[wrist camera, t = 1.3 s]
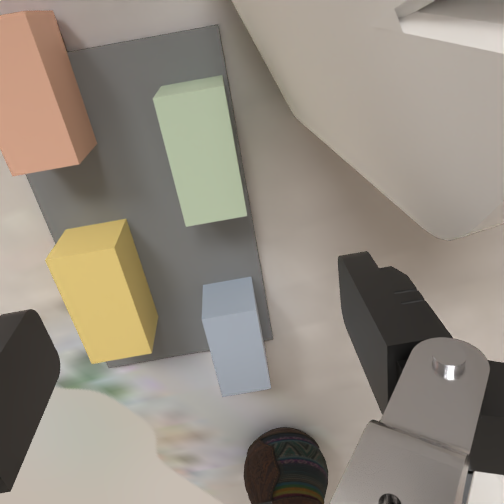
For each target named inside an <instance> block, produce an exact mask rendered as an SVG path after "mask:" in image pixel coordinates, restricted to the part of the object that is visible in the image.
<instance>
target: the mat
mask: <svg viewBox="0 0 504 504" xmlns="http://www.w3.org/2000/svg"><path fill="white" fill-rule="evenodd" d="M67 54H68V57H69V60H70V63H71V66H72V69H73V72H74V75H75V78H76V81H77V84H78V87H79V90H80V93H81V96H82V99H83V102H84V105H85V108H86V111H87V114H88V117H89V120H90V123H91V126H92V129H93V132H94V135H95V138H96V141H97V144H96V146H95V147H94V148H93V149H92V150H91V151H90V153H89V154H88V155H87V156H86V157H85V158H84V160H83V161H82V162H81V163H80V164H79V165H73V166H67V167H62V168H56V169H51V170H45V171H40V172H34V173H28V174H26V176H27V179H28V181H29V183H30V186H31V188H32V190H33V193H34V195H35V197H36V200H37V202H38V204H39V207H40V209H41V211H42V214H43V216H44V218H45V221H46V223H47V225H48V228H49V230H50V232H51V235H52V237H53V239H54V242H55V244H56V243H57V242H58V240H59V239H60V237H61V236H62V234H63V233H64V231H65V230H66V229H71V228H77V227H82V226H88V225H93V224H99V223H105V222H110V221H116V220H121V219H127V222H128V225H129V228H130V232H131V235H132V238H133V241H134V244H135V247H136V250H137V253H138V256H139V259H140V262H141V265H142V268H143V271H144V274H145V277H146V280H147V283H148V286H149V289H150V292H151V295H152V298H153V302H154V305H155V308H156V311H157V314H158V321H157V327H156V333H155V338H154V344H153V350H152V353H151V354H146V355H140V356H134V357H128V358H123V359H117V360H111V361H106V363H107V365H108V368H112V367H117V366H123V365H129V364H135V363H140V362H146V361H152V360H157V359H163V358H169V357H174V356H180V355H186V354H192V353H197V352H203V351H209V350H210V349H209V345H208V341H207V337H206V334H205V330H204V326H203V323H202V296H203V285H206V284H212V283H217V282H223V281H229V280H234V279H240V278H246V277H252V283H253V288H254V293H255V298H256V304H257V309H258V314H259V320H260V325H261V330H262V335H263V341H266V340H271V339H273V336H272V330H271V325H270V319H269V313H268V307H267V302H266V296H265V290H264V285H263V279H262V273H261V268H260V262H259V256H258V250H257V245H256V239H255V233H254V228H253V222H252V216H251V210H250V205H249V199H248V193H247V188H246V182H245V176H244V170H243V165H242V159H241V153H240V148H239V142H238V136H237V130H236V125H235V119H234V113H233V108H232V102H231V96H230V90H229V85H228V79H227V73H226V68H225V62H224V56H223V50H222V45H221V39H220V33H219V28H218V25H214V26H208V27H203V28H197V29H192V30H186V31H181V32H175V33H170V34H164V35H159V36H153V37H148V38H142V39H137V40H131V41H126V42H120V43H115V44H109V45H104V46H98V47H93V48H87V49H82V50H76V51H71V52H67ZM219 75H222V76H223V82H224V87H225V93H226V98H227V104H228V110H229V115H230V121H231V126H232V132H233V137H234V143H235V148H236V154H237V160H238V165H239V171H240V176H241V182H242V187H243V193H244V199H245V205H246V211H247V216H244V217H239V218H233V219H227V220H222V221H216V222H210V223H205V224H199V225H194V226H188V227H186V225H185V222H184V218H183V214H182V210H181V206H180V202H179V198H178V195H177V191H176V187H175V183H174V179H173V175H172V171H171V167H170V164H169V160H168V156H167V152H166V148H165V144H164V140H163V136H162V133H161V129H160V125H159V121H158V117H157V113H156V109H155V105H154V102H153V97H154V96H155V94H156V93H157V92H158V90H159V89H160V87H161V86H164V85H170V84H175V83H181V82H186V81H192V80H197V79H203V78H208V77H214V76H219Z"/></svg>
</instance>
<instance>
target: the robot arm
mask: <svg viewBox="0 0 504 504" xmlns="http://www.w3.org/2000/svg"><path fill="white" fill-rule="evenodd" d="M338 271H339V285H340V298H341V309H342V315H343V319H344V323H345V326H346V329H347V331H348V334H349V336H350V338H351V341H352V343H353V346H354V348H355V350H356V353H357V355H358V357H359V360H360V362H361V365H362V367H363V369H364V372H365V374H366V377H367V379H368V381H369V384H370V386H371V389H372V391H373V393H374V396H375V398H376V401H377V403H378V405H379V408H380V410H381V413H382V415H383V416H382V418H381V420H380V421H379V422H378V421H376V420H371V421H370V422H369V423H368V424H367V426H366V428H365V430H364V431H363V434H362V436H361V438H360V440H359V442H358V444H357V446H356V448H355V450H354V453H353V455H352V457H351V459H350V461H349V463H348V465H347V467H346V470H345V472H344V474H343V476H342V478H341V480H340V482H339V484H338V486H337V489H336V491H335V493H334V495H333V497H332V499H331V501H330V503H329V504H468V501H469V496H470V492H471V487H472V483H473V479H474V474H475V471H476V472H484V473H491V474H498V475H504V363H502V362H495V361H490V360H487V358H486V357H485V355H484V354H483V353H482V352H481V351H480V350H479V349H477V348H476V347H475V346H473V345H471V344H469V343H467V342H464V341H461V340H458V339H453V337H452V336H451V335H450V333H449V332H448V331H447V329H446V328H445V326H444V325H443V324H442V322H441V321H440V320H439V318H438V317H437V315H436V314H435V313H434V311H433V310H432V309H431V307H430V306H429V305H428V303H427V302H426V301H424V298H423V296H422V295H421V294H420V292H419V291H417V289H416V287H415V285H414V284H413V283H412V281H411V280H410V279H409V277H408V276H407V275H406V274H404V273H402V272H400V271H399V270H397V269H395V268H394V267H392V266H390V267H385V268H378V266H377V265H376V263H375V261H374V260H373V258H372V257H371V255H370V254H369V252H367V251H365V252H360V253H354V254H348V255H342V256H339V257H338ZM59 374H60V360H59V356H58V353H57V351H56V349H55V347H54V345H53V342H52V340H51V338H50V336H49V334H48V332H47V330H46V328H45V326H44V324H43V322H42V320H41V318H40V316H39V314H38V313H37V312H36V311H35V310H32V309H30V310H24V311H19V312H13V313H7V314H2V315H1V316H0V493H5V492H10V491H11V489H12V487H13V484H14V482H15V480H16V477H17V475H18V472H19V470H20V467H21V465H22V463H23V461H24V458H25V456H26V454H27V451H28V449H29V446H30V444H31V442H32V439H33V436H34V435H35V432H36V430H37V427H38V425H39V423H40V420H41V418H42V416H43V413H44V411H45V408H46V406H47V404H48V401H49V399H50V396H51V394H52V392H53V389H54V387H55V385H56V382H57V380H58V377H59ZM258 504H272V501H270V502H264V503H258Z"/></svg>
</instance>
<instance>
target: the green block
mask: <svg viewBox="0 0 504 504" xmlns="http://www.w3.org/2000/svg"><path fill="white" fill-rule="evenodd" d="M153 102H154V105H155V109H156V113H157V117H158V121H159V125H160V129H161V133H162V136H163V140H164V144H165V148H166V152H167V156H168V160H169V164H170V167H171V171H172V175H173V179H174V183H175V187H176V191H177V195H178V198H179V202H180V206H181V210H182V214H183V218H184V222H185V225H186V227H188V226H194V225H199V224H205V223H210V222H216V221H222V220H227V219H233V218H239V217H244V216H247V211H246V205H245V199H244V193H243V187H242V182H241V176H240V171H239V165H238V160H237V154H236V148H235V143H234V137H233V132H232V126H231V121H230V115H229V110H228V104H227V98H226V93H225V87H224V82H223V76H222V75H219V76H214V77H208V78H203V79H197V80H192V81H186V82H181V83H175V84H170V85H164V86H161V87H160V89H159V90H158V92H157V93H156V94H155V96H154V97H153Z"/></svg>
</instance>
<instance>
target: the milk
mask: <svg viewBox="0 0 504 504" xmlns="http://www.w3.org/2000/svg"><path fill="white" fill-rule="evenodd" d="M231 1H232V3H233V4H234V6H235V8H236V10H237V12H238V14H239V15H240V17H241V19H242V21H243V23H244V25H245V27H246V28H247V30H248V32H249V34H250V36H251V38H252V39H253V41H254V43H255V45H256V47H257V49H258V51H259V52H260V54H261V56H262V58H263V60H264V62H265V63H266V65H267V67H268V69H269V71H270V73H271V75H272V76H273V78H274V80H275V82H276V84H277V86H278V87H279V89H280V91H281V93H282V95H283V97H284V99H285V100H286V102H287V104H288V106H289V108H290V110H291V111H292V113H293V115H294V117H295V118H297V119H298V120H299V121H300V122H301V123H302V124H303V125H305V126H306V127H307V128H308V129H309V130H310V131H311V132H313V133H314V134H315V135H316V136H317V137H318V138H320V139H321V140H322V141H323V142H324V143H325V144H326V145H328V146H329V147H330V148H331V149H332V150H333V151H334V152H336V153H337V154H338V155H339V156H340V157H341V158H343V159H344V160H345V161H346V162H347V163H348V164H349V165H351V166H352V167H353V168H354V169H355V170H356V171H357V172H359V173H360V174H361V175H362V176H363V177H364V178H365V179H367V180H368V181H369V182H370V183H371V184H372V185H374V186H375V187H376V188H377V189H378V190H379V191H380V192H382V193H383V194H384V195H385V196H386V197H387V198H388V199H390V200H391V201H392V202H393V203H394V204H395V205H397V206H398V207H399V208H400V209H401V210H402V211H403V212H405V213H406V214H407V215H408V216H409V217H410V218H411V219H413V220H414V221H415V222H416V223H417V224H418V225H419V226H421V227H422V228H423V229H424V230H426V231H427V232H429V233H430V234H432V235H433V236H435V237H436V238H439V239H444V240H448V241H450V240H454V239H457V238H461V237H464V236H467V235H470V234H473V233H477V232H480V231H483V230H486V229H489V228H492V227H495V226H498V225H501V224H504V0H231Z"/></svg>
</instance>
